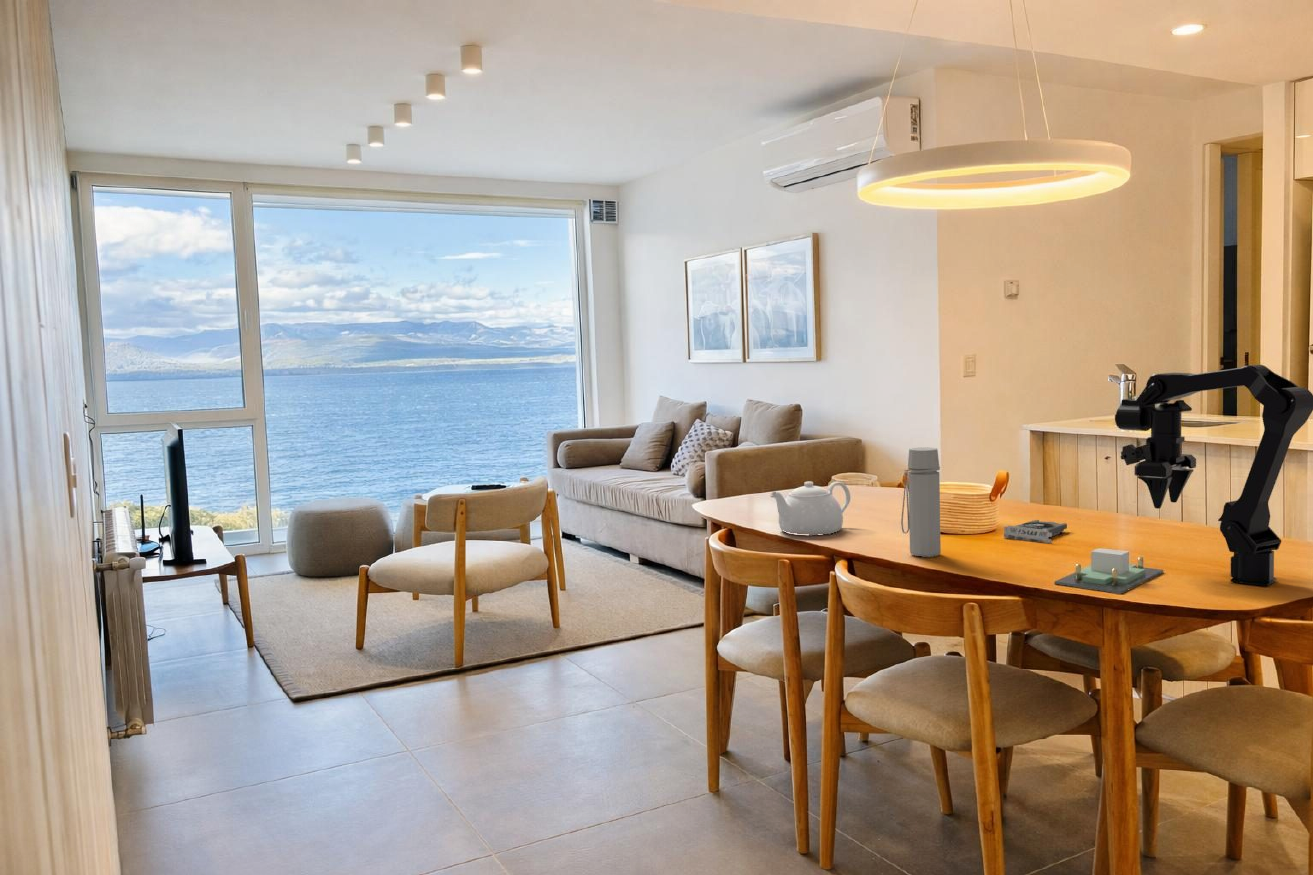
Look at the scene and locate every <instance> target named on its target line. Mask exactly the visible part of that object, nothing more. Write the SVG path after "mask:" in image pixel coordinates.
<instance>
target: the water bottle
mask: <svg viewBox="0 0 1313 875" xmlns="http://www.w3.org/2000/svg"><path fill="white" fill-rule="evenodd" d="M938 452H939V451H938V448H937V447H911V448H909V450H908V459H907V460H908V461H907V468H908V469H904V470H903V474H904V477H905V478H904V486H903V487H904V489H903V498H902V510H901V520H900V523H901V524H900V525H901V531H902V534H908V533H909V553H910V555H912V554H913V555H912V556H914V555H915V556H914V557H916V556H922V557H921V558H935V557H938V556H939V555H940V554H941V551H942V549H941V543H942V542H941V496H940V494H941V493H940V492H941V491H940V490H941V489H940V484H941V483H940V472H939V471H940V469H941V467H940V459H939V453H938ZM905 498H906V509H907V510H906V511H907V512H906V513H907V531H905V528H904V523H903V522H904V509H905ZM934 556H935V557H934Z"/></svg>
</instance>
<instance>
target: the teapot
mask: <svg viewBox="0 0 1313 875" xmlns="http://www.w3.org/2000/svg"><path fill="white" fill-rule="evenodd" d="M803 484H804V485H803V486H799V487H797V488H795V489H793V490H792V491H790V492H789V493H788V495H787V496H786V498H784V496H783V495H782V493H781V492H780V491H777V490H775V491H772V492H771V493H770V498H773V499H775V502H776V507H777V513H778V524H779V528H780V530H781V531H782V530H784V531H786V532H790V533H797V534H809V535H818V534H829V535H831V534H830V533H833V534H835V533H834V532H836V533H838V532H839V531H840V530H841V529H842V527H843V522H844V515H843V513H844V512H845V510H846V509H847V508H848V506H849V504H850V502H851V492H850V489H849V488H848V487H847V485H846V484H845V483H843V482H842V481H833V482H831V483H830V484H829V486H828V489H826V488H824V487H822V486H819V485H814V482H813V481H805V482H804V483H803ZM836 486H840V487H841V488H842V490H843V491H844V493H845V501H844V504H843V505H842V506H841V505H840V503H839V502H838V500H837V499H836V497H835V496H834V495H833V490H834V488H835V487H836ZM837 531H838V532H837Z"/></svg>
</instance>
